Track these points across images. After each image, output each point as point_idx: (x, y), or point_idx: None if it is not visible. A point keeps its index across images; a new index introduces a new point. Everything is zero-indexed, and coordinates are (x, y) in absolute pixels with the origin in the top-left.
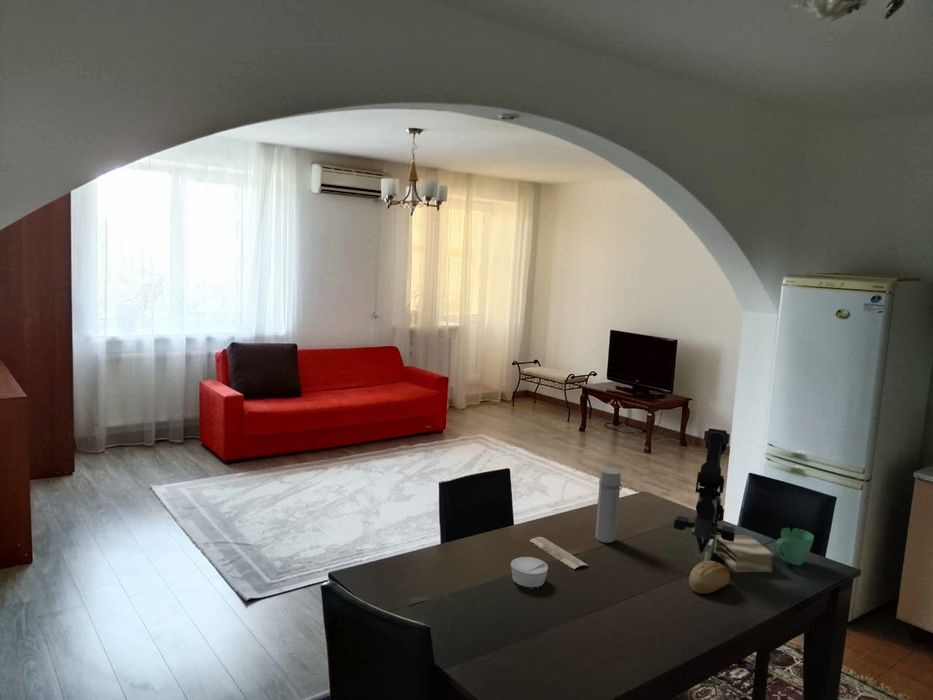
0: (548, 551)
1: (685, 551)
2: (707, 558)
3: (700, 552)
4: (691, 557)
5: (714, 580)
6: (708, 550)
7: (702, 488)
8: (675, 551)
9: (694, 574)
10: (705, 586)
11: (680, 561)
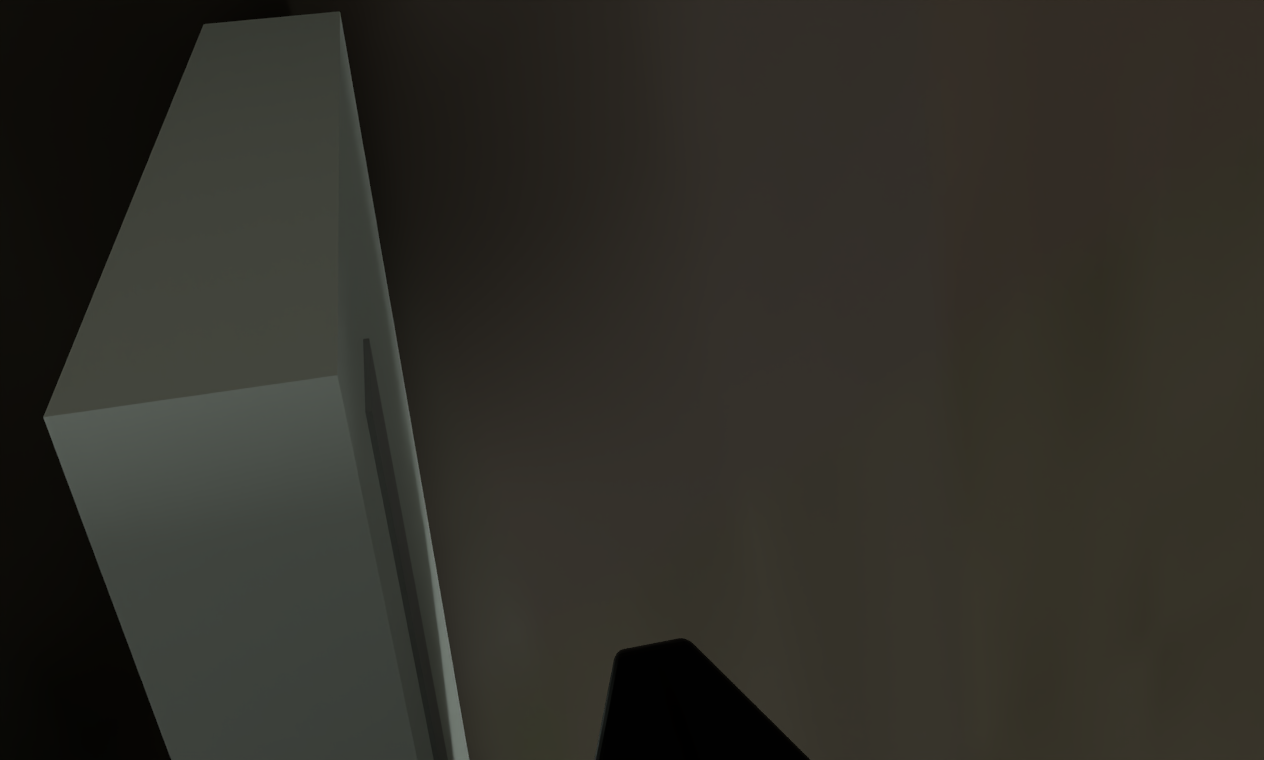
0: None
1: (1024, 734)
2: (155, 195)
3: (685, 652)
4: (861, 549)
5: None
6: (194, 704)
7: None
8: (1253, 585)
9: None
10: None
11: (1159, 66)
